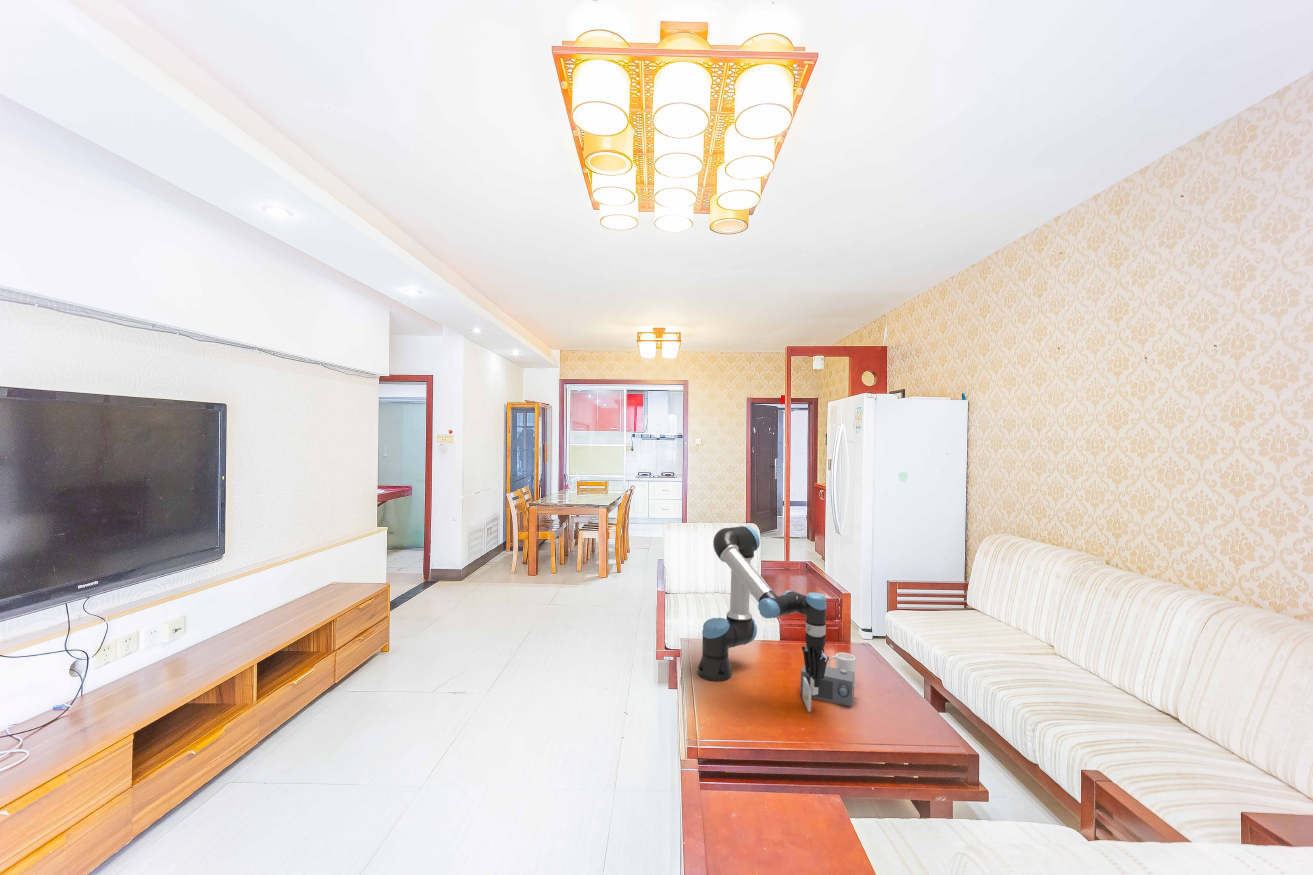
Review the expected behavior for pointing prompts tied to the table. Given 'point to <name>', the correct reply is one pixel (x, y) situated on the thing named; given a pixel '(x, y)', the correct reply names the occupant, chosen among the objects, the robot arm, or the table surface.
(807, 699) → the door
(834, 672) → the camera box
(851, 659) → the mug
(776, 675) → the table surface
